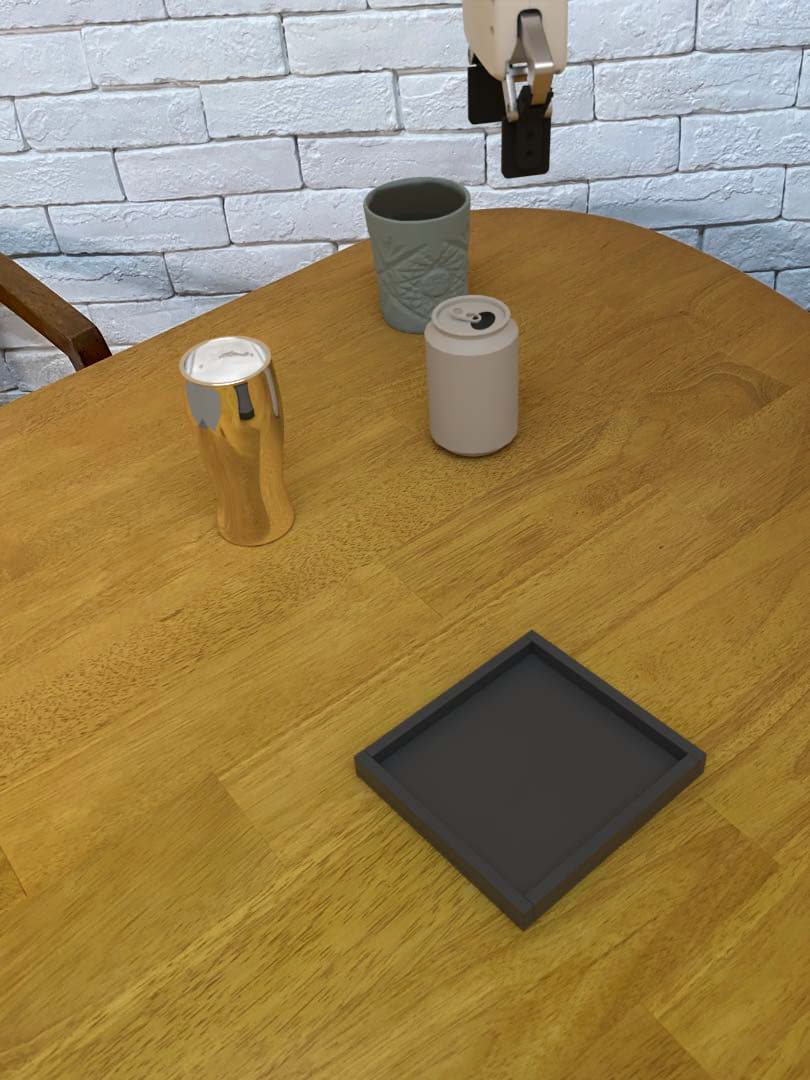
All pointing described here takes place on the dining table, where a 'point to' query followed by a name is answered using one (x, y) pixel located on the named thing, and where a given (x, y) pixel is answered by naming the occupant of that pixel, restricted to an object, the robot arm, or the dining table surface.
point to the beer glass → (239, 435)
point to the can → (472, 375)
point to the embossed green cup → (418, 247)
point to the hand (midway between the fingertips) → (506, 146)
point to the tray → (529, 774)
